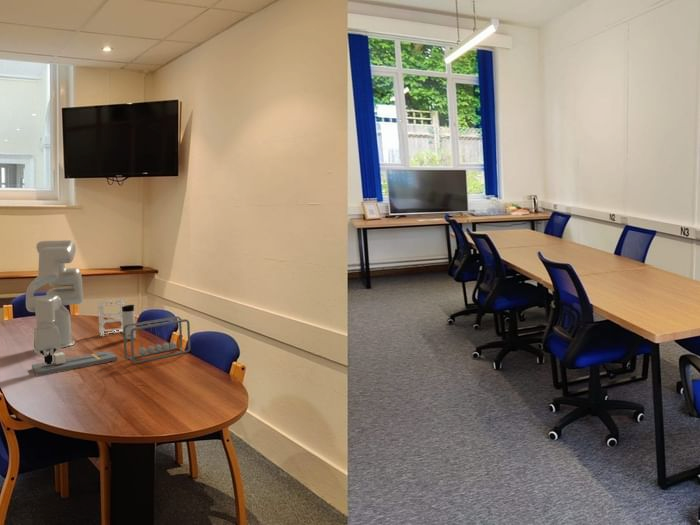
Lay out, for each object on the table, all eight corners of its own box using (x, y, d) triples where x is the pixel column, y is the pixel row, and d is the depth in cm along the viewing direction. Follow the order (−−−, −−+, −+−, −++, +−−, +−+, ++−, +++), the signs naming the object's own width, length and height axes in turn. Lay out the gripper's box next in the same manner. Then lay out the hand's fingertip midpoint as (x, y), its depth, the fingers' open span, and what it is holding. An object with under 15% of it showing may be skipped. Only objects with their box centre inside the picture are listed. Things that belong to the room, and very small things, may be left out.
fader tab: (53, 362, 238) (53, 353, 237) (63, 360, 241) (62, 352, 240) (56, 364, 234) (55, 356, 234) (65, 363, 237) (65, 354, 236)
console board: (32, 369, 236) (31, 364, 235) (109, 354, 258) (108, 350, 258) (37, 376, 226) (37, 371, 226) (117, 360, 248) (117, 356, 248)
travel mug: (131, 340, 284) (129, 306, 281) (121, 340, 285) (119, 305, 283) (138, 338, 290) (136, 303, 288) (128, 337, 291) (126, 303, 289)
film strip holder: (124, 329, 311) (122, 297, 308) (127, 334, 299) (125, 300, 297) (98, 332, 303) (96, 299, 301) (100, 337, 291) (98, 303, 289)
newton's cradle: (132, 364, 242) (130, 328, 240) (124, 360, 249) (122, 325, 247) (190, 352, 263) (189, 318, 260) (181, 348, 270) (180, 315, 268)
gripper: (62, 321, 240) (64, 358, 242) (25, 326, 230) (28, 365, 232) (66, 323, 234) (68, 362, 236) (28, 329, 225) (31, 369, 227)
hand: (48, 363), depth 234 cm, fingers closed
